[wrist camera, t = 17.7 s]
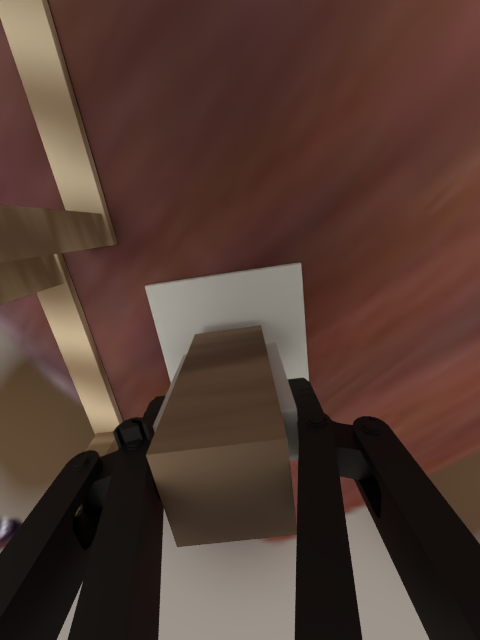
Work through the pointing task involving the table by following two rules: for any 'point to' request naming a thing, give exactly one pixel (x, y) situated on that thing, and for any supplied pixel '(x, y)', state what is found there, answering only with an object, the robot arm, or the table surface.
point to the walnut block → (224, 445)
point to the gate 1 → (52, 145)
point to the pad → (233, 312)
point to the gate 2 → (67, 337)
